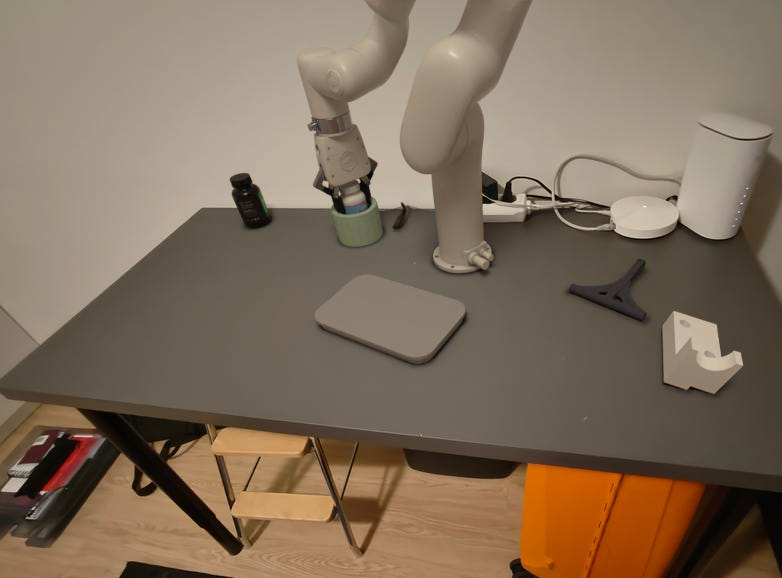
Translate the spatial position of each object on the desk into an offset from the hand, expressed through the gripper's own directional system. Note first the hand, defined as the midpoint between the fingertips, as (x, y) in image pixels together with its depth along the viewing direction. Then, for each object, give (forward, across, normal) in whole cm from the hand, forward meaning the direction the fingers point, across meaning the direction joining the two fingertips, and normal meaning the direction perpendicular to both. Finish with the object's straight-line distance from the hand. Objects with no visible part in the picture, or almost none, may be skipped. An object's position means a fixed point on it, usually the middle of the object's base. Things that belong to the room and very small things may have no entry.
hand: (354, 206), depth 104 cm
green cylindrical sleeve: (+7, 0, 0) cm, 7 cm away
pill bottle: (+6, 0, 0) cm, 6 cm away
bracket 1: (+8, +26, -55) cm, 61 cm away
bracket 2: (+8, +18, -74) cm, 76 cm away
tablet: (+8, -12, -32) cm, 35 cm away
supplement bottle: (+7, -16, +26) cm, 32 cm away
